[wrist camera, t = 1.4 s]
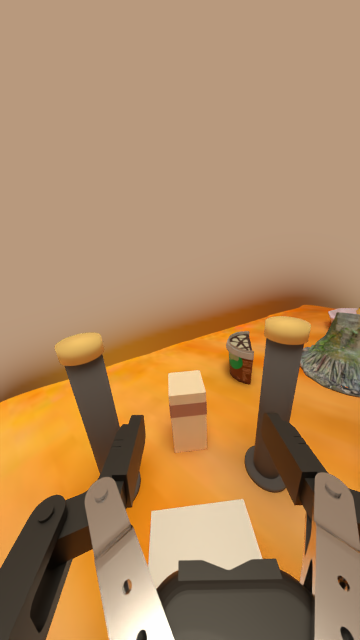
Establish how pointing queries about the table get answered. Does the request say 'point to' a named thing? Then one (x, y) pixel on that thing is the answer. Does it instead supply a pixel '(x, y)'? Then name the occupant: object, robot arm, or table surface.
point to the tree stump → (336, 356)
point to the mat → (201, 537)
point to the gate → (276, 395)
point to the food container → (240, 356)
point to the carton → (188, 411)
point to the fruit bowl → (343, 310)
